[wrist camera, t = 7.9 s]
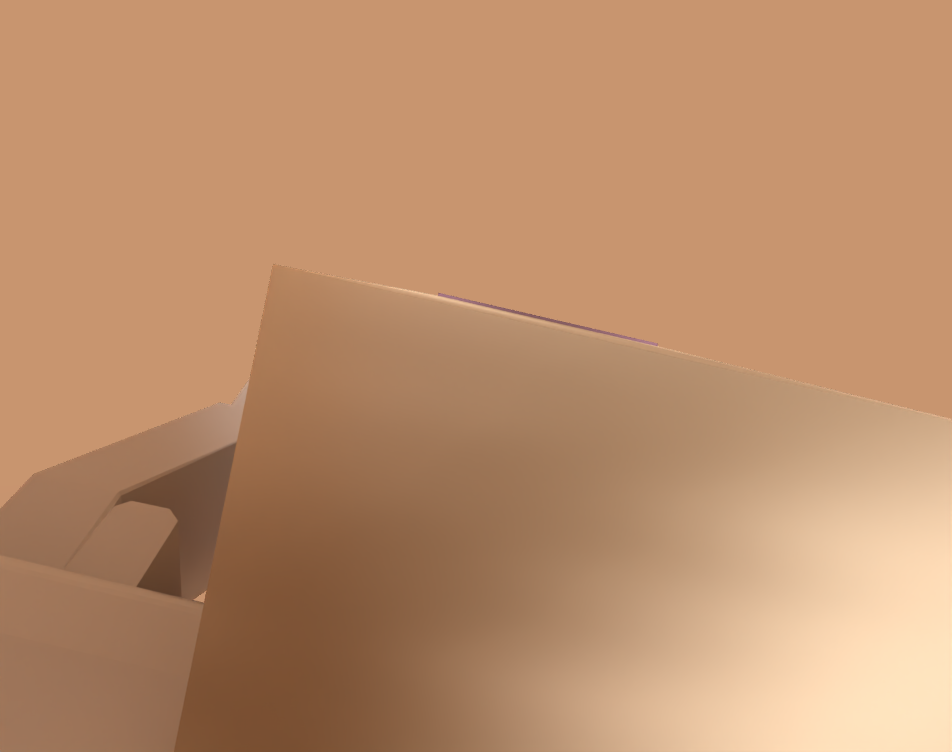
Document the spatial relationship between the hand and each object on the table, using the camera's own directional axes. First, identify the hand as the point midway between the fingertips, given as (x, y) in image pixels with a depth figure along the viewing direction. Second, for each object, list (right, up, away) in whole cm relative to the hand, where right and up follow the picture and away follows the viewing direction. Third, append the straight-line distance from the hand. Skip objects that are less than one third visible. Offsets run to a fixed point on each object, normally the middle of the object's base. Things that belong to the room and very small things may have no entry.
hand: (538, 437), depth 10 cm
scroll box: (-1, -2, +2) cm, 3 cm away
